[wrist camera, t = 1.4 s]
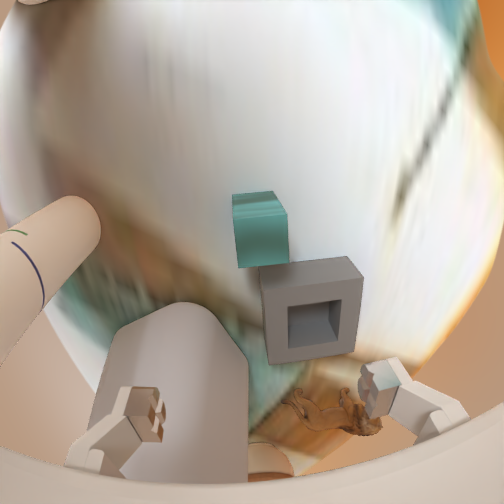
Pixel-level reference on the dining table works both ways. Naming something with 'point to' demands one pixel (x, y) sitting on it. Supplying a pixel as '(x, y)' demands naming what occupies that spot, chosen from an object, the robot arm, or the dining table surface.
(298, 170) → the dining table surface
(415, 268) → the dining table surface
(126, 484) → the robot arm
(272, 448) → the lidded bowl
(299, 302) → the bore block
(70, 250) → the cylindrical container
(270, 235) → the teal pin
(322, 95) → the dining table surface
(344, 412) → the lion figurine
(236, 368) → the plastic bottle
